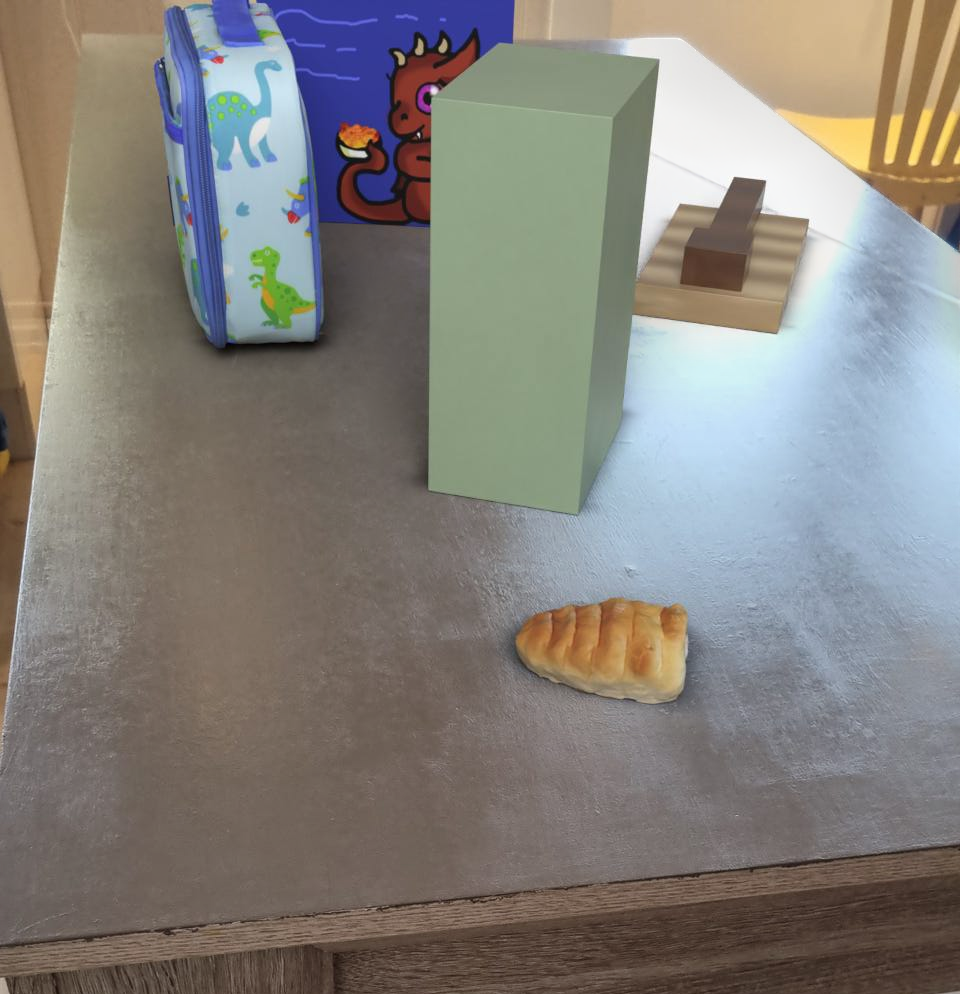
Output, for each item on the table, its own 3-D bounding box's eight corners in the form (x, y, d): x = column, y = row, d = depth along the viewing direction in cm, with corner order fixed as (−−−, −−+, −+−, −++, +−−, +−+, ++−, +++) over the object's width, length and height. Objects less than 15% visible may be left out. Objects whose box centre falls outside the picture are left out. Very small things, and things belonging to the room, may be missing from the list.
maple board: (676, 231, 129) (679, 203, 127) (804, 247, 126) (809, 218, 125) (631, 314, 113) (635, 283, 111) (777, 334, 111) (783, 302, 109)
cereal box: (505, 209, 132) (522, -180, 111) (504, 230, 127) (521, -171, 107) (280, 199, 132) (256, -191, 112) (270, 219, 127) (244, -184, 107)
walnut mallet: (719, 203, 127) (723, 169, 125) (772, 210, 126) (778, 175, 124) (679, 284, 111) (684, 245, 109) (741, 292, 110) (747, 253, 108)
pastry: (508, 695, 72) (512, 633, 70) (520, 626, 77) (523, 567, 75) (686, 711, 72) (697, 649, 69) (686, 641, 77) (695, 581, 74)
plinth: (485, 404, 99) (498, 42, 83) (620, 424, 97) (659, 58, 82) (428, 491, 89) (431, 97, 73) (577, 515, 87) (613, 117, 72)
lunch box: (173, 253, 120) (141, -28, 106) (295, 247, 122) (280, -28, 108) (192, 374, 101) (156, 53, 87) (336, 365, 103) (324, 50, 89)
